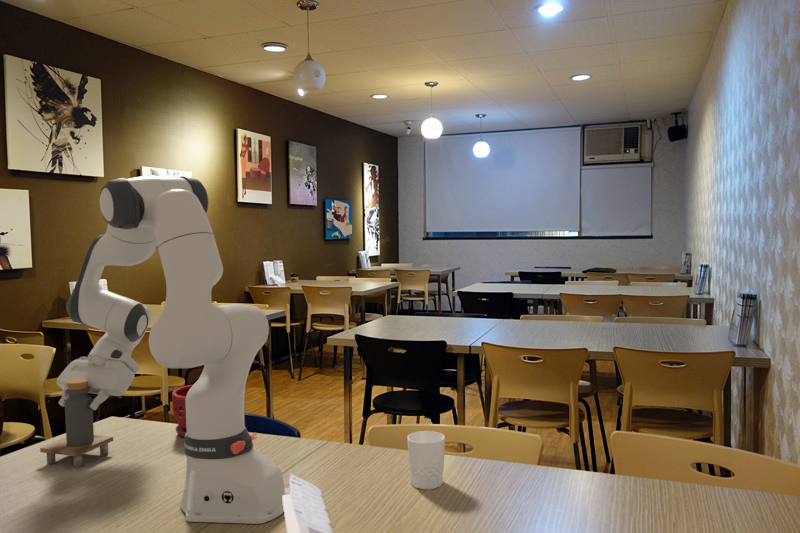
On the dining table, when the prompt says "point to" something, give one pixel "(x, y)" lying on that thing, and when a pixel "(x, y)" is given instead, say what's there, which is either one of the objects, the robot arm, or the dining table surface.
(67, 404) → the bottle
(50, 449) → the small wooden stand
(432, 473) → the white cup
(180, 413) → the plant pot
